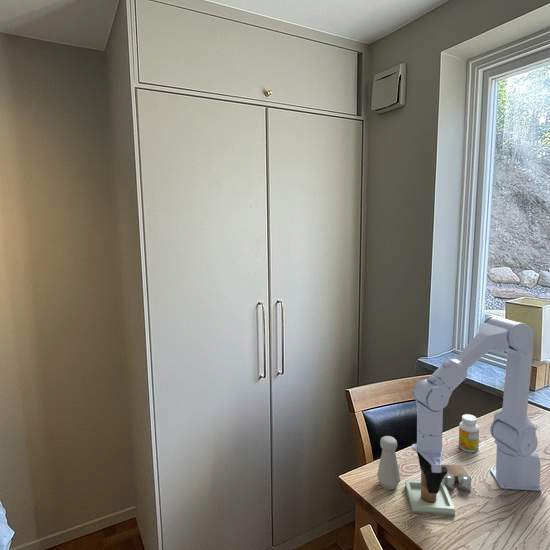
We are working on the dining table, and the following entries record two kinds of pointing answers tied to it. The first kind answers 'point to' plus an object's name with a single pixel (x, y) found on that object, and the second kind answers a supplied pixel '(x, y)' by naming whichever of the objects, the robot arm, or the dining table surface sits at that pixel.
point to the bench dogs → (463, 482)
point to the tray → (438, 508)
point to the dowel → (426, 490)
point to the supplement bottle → (469, 433)
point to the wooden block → (455, 471)
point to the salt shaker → (388, 464)
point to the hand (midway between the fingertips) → (429, 481)
